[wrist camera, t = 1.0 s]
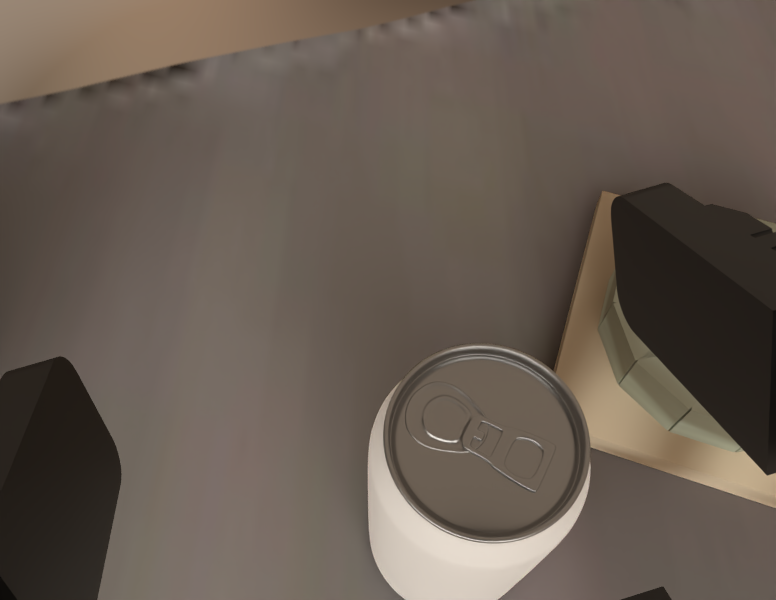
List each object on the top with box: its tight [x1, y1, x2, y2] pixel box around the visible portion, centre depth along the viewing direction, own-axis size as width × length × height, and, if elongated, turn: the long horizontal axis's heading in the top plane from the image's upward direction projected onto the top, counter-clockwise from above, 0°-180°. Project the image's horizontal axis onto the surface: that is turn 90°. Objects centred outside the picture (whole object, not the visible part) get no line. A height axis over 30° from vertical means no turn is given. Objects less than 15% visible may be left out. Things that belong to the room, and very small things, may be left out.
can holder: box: [554, 191, 776, 508], centre depth 33 cm, size 13×13×4 cm
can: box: [368, 343, 590, 600], centre depth 25 cm, size 6×6×12 cm
